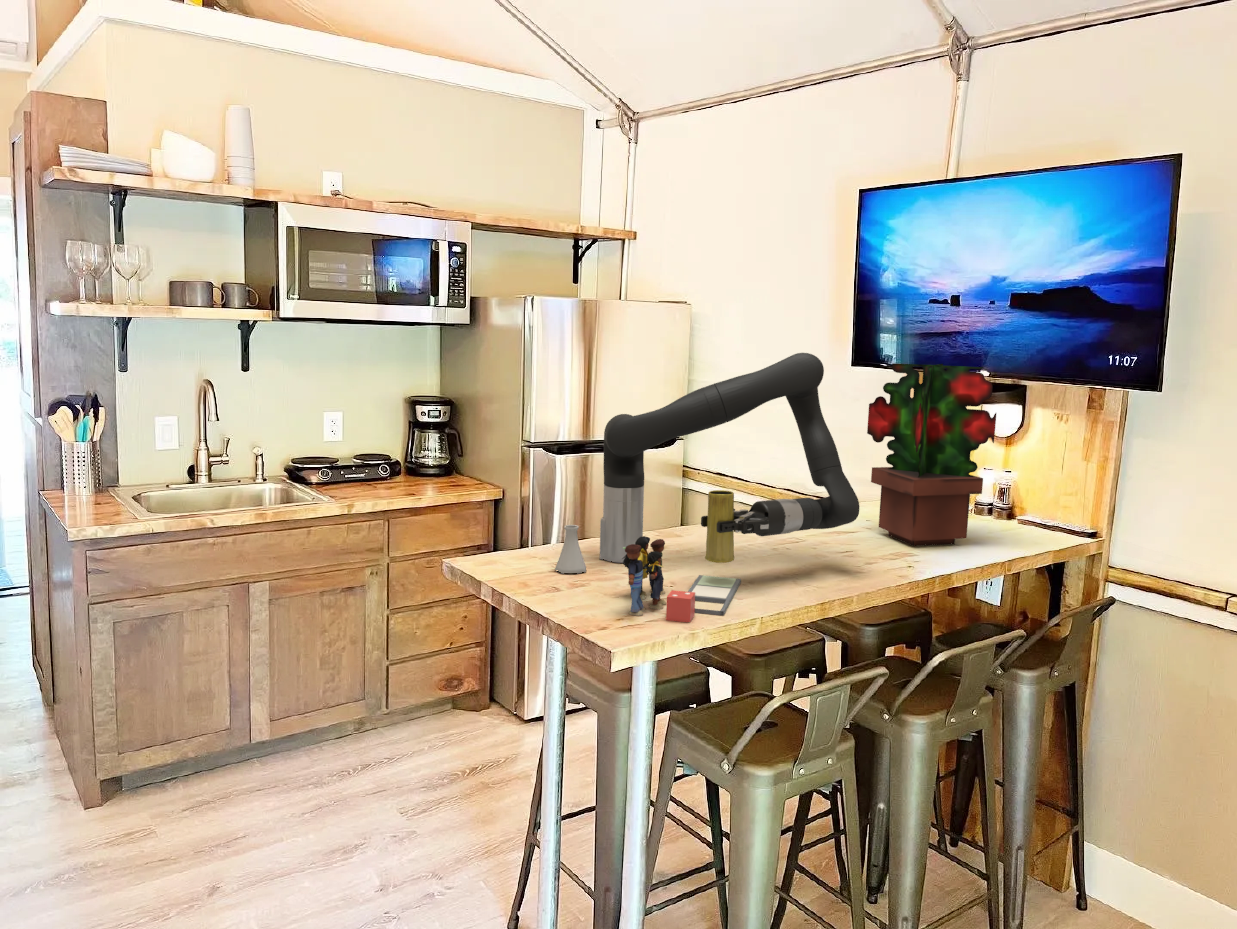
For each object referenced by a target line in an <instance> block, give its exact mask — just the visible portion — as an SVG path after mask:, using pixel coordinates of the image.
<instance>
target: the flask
mask: <svg viewBox="0 0 1237 929" xmlns="http://www.w3.org/2000/svg"><path fill="white" fill-rule="evenodd" d="M579 527H580V526H579V525H578V524H577V525H576V524H567V525H564V530H565V532H564V533H565V537H564V542H563V546H562V548H561V551H560V554H559V556H558V559H557V562H556V564H555V567H554V571H555V570H558V571H559V572H561V573H560V574H564V573H577V574H582V572H584V573H587V570H586V568H587V565H586V563H585V560H584V557H583V553H582V550H581V547H580V545H579V539H578V538H579V537H578V530H579ZM559 572H558V573H559Z"/></svg>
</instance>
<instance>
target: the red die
mask: <svg viewBox="0 0 1237 929" xmlns="http://www.w3.org/2000/svg"><path fill="white" fill-rule="evenodd" d="M695 608H696V601H695V592H688V591H683V590H671V591H670V592H669V593H668V595H667V596H666V610H665V612H666V613H665V620H666V621H671V622H680V623H688V622H690V623H691V622H692V620H693V619H694V617H695V614H696V613H695Z"/></svg>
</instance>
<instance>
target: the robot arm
mask: <svg viewBox="0 0 1237 929" xmlns="http://www.w3.org/2000/svg"><path fill="white" fill-rule="evenodd" d="M824 373H825V367H824V364H823V362H822V361H821V359H820V358H819V357H818V356H816V355H815V354H812V353H809V352H797V353H794V354H792V355H789V356H788V357H785V358H783V359H781V360H780V361H778V362H775V363H772V364H771V365H769V366H766V367H764V368H761V369H759V370H756V371H753V372H749V373H746V374H742V375H738V376H735V377H731V378H728V379H725V380H722V381H718V382H714V383H713V384H709V385H707V386H706V385H705V386H704V387H703V386H702V387H701V388H698V389H696V390H693V391H691V392H689V393H686V394H685V395H684V396H683V395H682V397H679V398H677V399H676V400H674V401H672V402H671V403H669V404H667V405H665V406H663V407H661V408H658V409H654V410H652V411H648V412H645V413H642V414H641V413H639V414H637V415H632V414H627V413H619V414H617V415H614V416H613V417H611V419H610V420H608V422H607V423H606V425H605V427H604V431H603V508H602V511H603V512H602V514H603V516H602V517H601V518H600V520H599V521H600V525H599V526H600V528H599V531H600V532H599V533H600V534H599V560H603V559H604V560H605V561H608V562H611V561H612V562H611V563H622V564H623V561H624V559H625V558H624V559H622V558H623V557H624V556H625V555H626V554H627V553H626V552H625V549H623V547H625V548H626V546H628V545H631V544H635V542H636V540H637V539H638V538H639V537H643V535H644V502H645V501H644V498H645V465H644V456H645V455H644V454H645V453H644V452H645V451H648V450H650V449H651V448H654V447H655V446H658V445H660V444H663V443H665V442H667V441H670V440H673V439H676V438H680V437H684V436H688V435H691V434H694V433H699V432H703V431H704V430H705V431H706V430H708V429H712V428H715V427H717V426H720V425H723V424H726V423H728V422H731V421H733V420H736V419H738V418H741V417H742V416H744V415H746V414H748V413H749V412H751V411H753V410H755V409H757V408H758V407H760V406H763V405H764V404H766V403H768V402H771V401H774V400H776V399H780V398H782V397H785V398H786V400H787V402H788V404H789V407H790V409H791V412H792V414H793V417H794V419H795V422H796V425H797V428H798V431H799V436H800V439H801V442H802V446H803V450H804V454H805V459H806V463H807V466H808V470H809V473H810V477H811V480H812V482H813V484H814V486H817V487H823V488H825V490H826V491H827V494H828V496H825V497H822V498H816V499H814V498H811V497H800V498H778V499H777V498H776V499H769V500H760V501H755V502H754V503H753V504H752V505H751V507H750V509H742V508H741V509H739V510H736V509H735V508H734V514H733V520H730V521H721V522H717V532H719V533H724V532H732V531H733V530H734V533H741V534H742V535H748V534H756V535H757V536H758V537H769V536H777V535H786V534H790V533H793V532H798V531H807V530H814V529H815V530H826V529H828V530H829V529H834V528H837V527H840V526H844V525H848V524H851V523H853V522H854V521H856V520H857V519H858V517H859V514H860V501H859V499H858V496H857V493H856V492H855V489H854V488H853V487H852V485H851V483H850V482H849V480H848V478H847V476H846V475H845V472H844V471H843V466H842V464H841V459H840V456H839V451H838V449H837V446H836V443H835V441H834V438H833V436H832V433H831V432H830V429H829V427H828V426H827V423H826V420H825V418H824V416H823V412H822V408H821V404H820V403H821V402H820V398H819V386H820V384H821V383H822V380H823V378H824ZM707 517H708V515H702V516H701V517H700V526H701V527H704V528H707ZM604 560H603V561H604Z"/></svg>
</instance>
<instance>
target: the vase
mask: <svg viewBox="0 0 1237 929" xmlns="http://www.w3.org/2000/svg"><path fill="white" fill-rule="evenodd" d="M707 495H708V496H707V516H708V517H707V527H706V543H705V546H706V548H705V556H704V559H705V561H708V562H710V563H719V564H725V563H731V562H733V561H734V560H735V542H734V540H735V538H734V533H735V532H734V530H733V531H732V532H724V533H719V532H717V522H721V521H730V520H733V514H734V509H735V508H734V506H735V504H734V503H735V502H734V500H735V492H733V491H730V490H722V489H717V490H716V489H715V490H710V491H708V494H707Z"/></svg>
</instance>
